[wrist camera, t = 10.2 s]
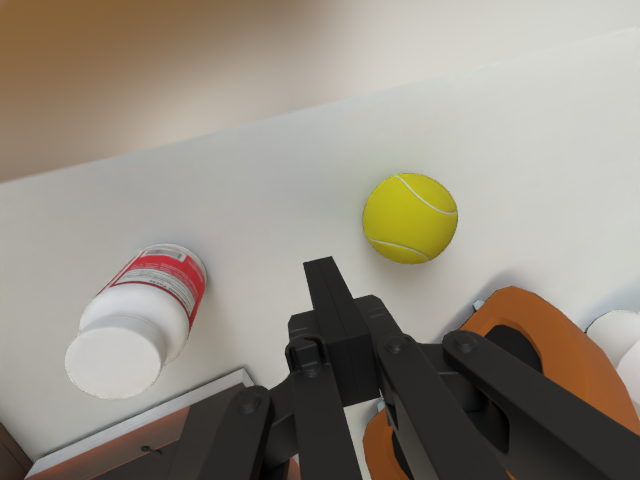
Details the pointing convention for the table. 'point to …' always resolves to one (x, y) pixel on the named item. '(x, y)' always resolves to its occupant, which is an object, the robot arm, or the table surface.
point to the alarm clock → (534, 350)
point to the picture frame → (152, 441)
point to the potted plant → (621, 347)
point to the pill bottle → (137, 323)
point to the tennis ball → (410, 218)
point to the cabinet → (12, 458)
